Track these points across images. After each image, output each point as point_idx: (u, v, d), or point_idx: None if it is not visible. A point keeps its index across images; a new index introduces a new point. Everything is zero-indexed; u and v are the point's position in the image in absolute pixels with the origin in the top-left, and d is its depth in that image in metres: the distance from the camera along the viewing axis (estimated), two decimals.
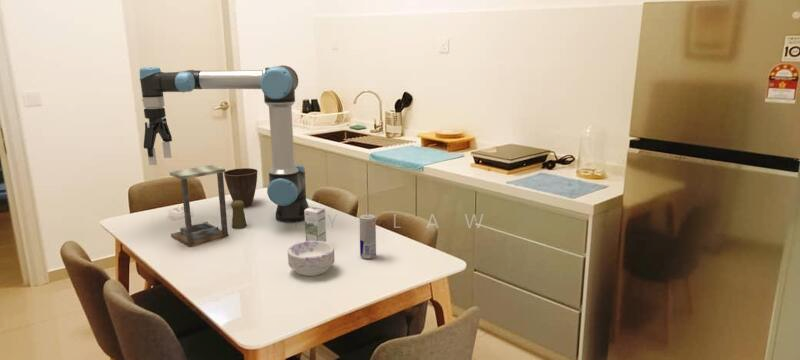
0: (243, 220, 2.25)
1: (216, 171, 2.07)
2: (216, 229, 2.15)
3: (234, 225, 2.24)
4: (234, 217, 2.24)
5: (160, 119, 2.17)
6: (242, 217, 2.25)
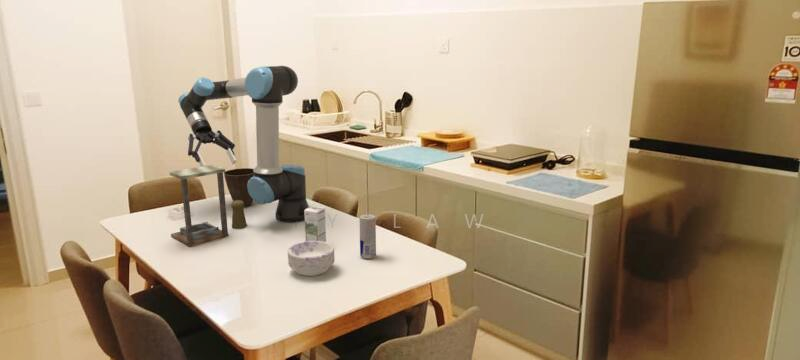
0: (243, 220, 2.25)
1: (216, 171, 2.07)
2: (216, 229, 2.15)
3: (234, 225, 2.24)
4: (234, 217, 2.24)
5: (208, 131, 2.34)
6: (242, 217, 2.25)
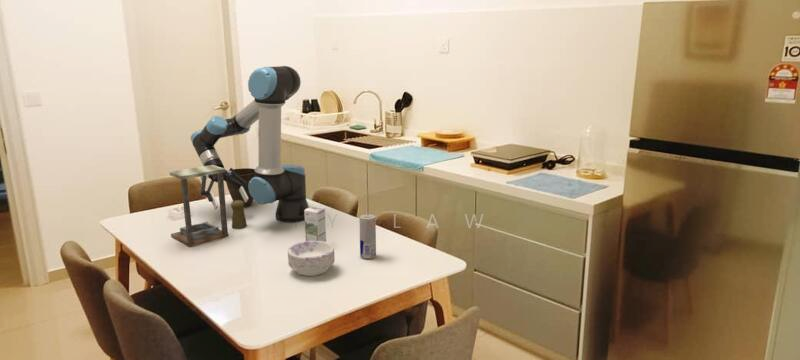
0: (243, 220, 2.25)
1: (216, 171, 2.07)
2: (216, 229, 2.15)
3: (234, 225, 2.24)
4: (234, 217, 2.24)
5: None
6: (242, 217, 2.25)
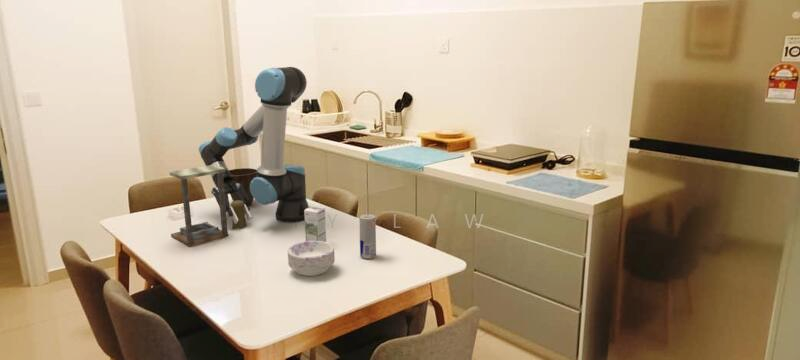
0: (243, 220, 2.25)
1: (216, 171, 2.07)
2: (216, 229, 2.15)
3: (234, 225, 2.24)
4: None
5: (230, 180, 2.31)
6: (242, 217, 2.25)
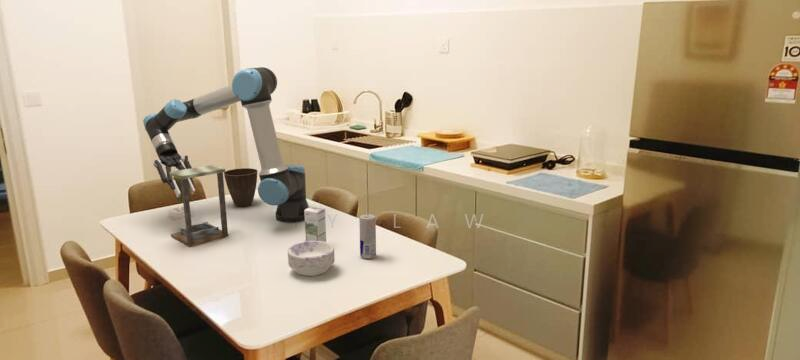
0: None
1: (216, 171, 2.07)
2: (216, 229, 2.15)
3: (177, 198, 2.18)
4: None
5: (175, 153, 2.24)
6: None
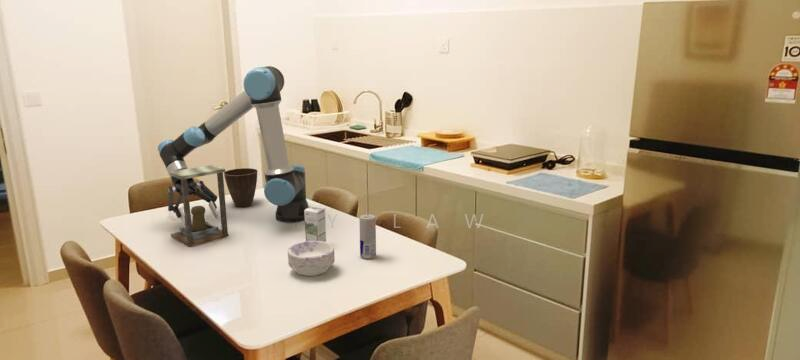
0: (203, 227, 2.13)
1: (216, 171, 2.07)
2: (216, 229, 2.15)
3: None
4: (194, 223, 2.12)
5: (190, 182, 2.18)
6: (202, 223, 2.13)
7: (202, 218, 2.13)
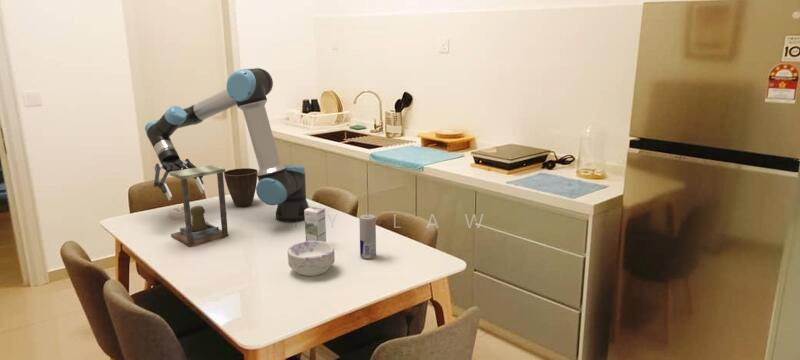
0: (203, 227, 2.13)
1: (216, 171, 2.07)
2: (216, 229, 2.15)
3: None
4: (193, 224, 2.12)
5: (176, 160, 2.27)
6: (202, 224, 2.13)
7: (202, 218, 2.13)
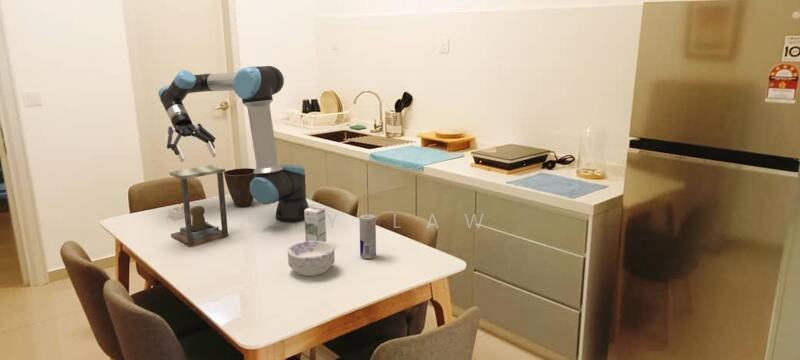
0: (203, 227, 2.13)
1: (216, 171, 2.07)
2: (216, 229, 2.15)
3: None
4: (193, 224, 2.12)
5: (188, 124, 2.32)
6: (202, 224, 2.13)
7: (202, 218, 2.13)
